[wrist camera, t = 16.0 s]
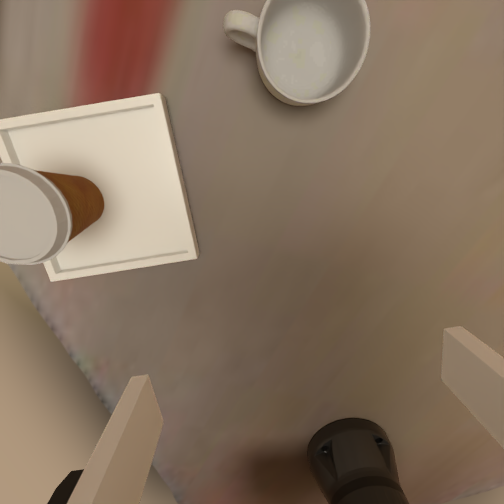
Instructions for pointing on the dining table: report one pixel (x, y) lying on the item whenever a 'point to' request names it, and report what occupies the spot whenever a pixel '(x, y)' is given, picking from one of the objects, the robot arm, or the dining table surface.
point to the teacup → (304, 45)
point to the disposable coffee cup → (43, 212)
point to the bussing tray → (112, 181)
